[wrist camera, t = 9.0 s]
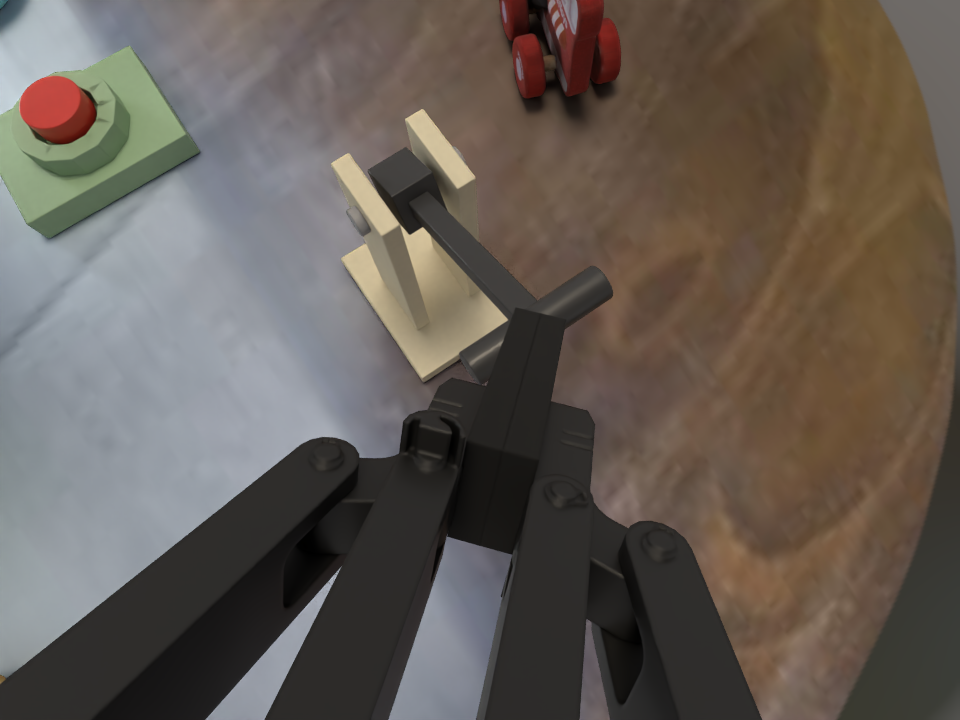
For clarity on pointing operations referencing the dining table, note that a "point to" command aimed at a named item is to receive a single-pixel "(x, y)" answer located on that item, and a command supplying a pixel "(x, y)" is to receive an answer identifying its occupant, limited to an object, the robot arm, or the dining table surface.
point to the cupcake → (2, 3)
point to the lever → (477, 258)
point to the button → (57, 109)
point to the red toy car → (562, 44)
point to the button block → (94, 147)
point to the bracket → (418, 259)
